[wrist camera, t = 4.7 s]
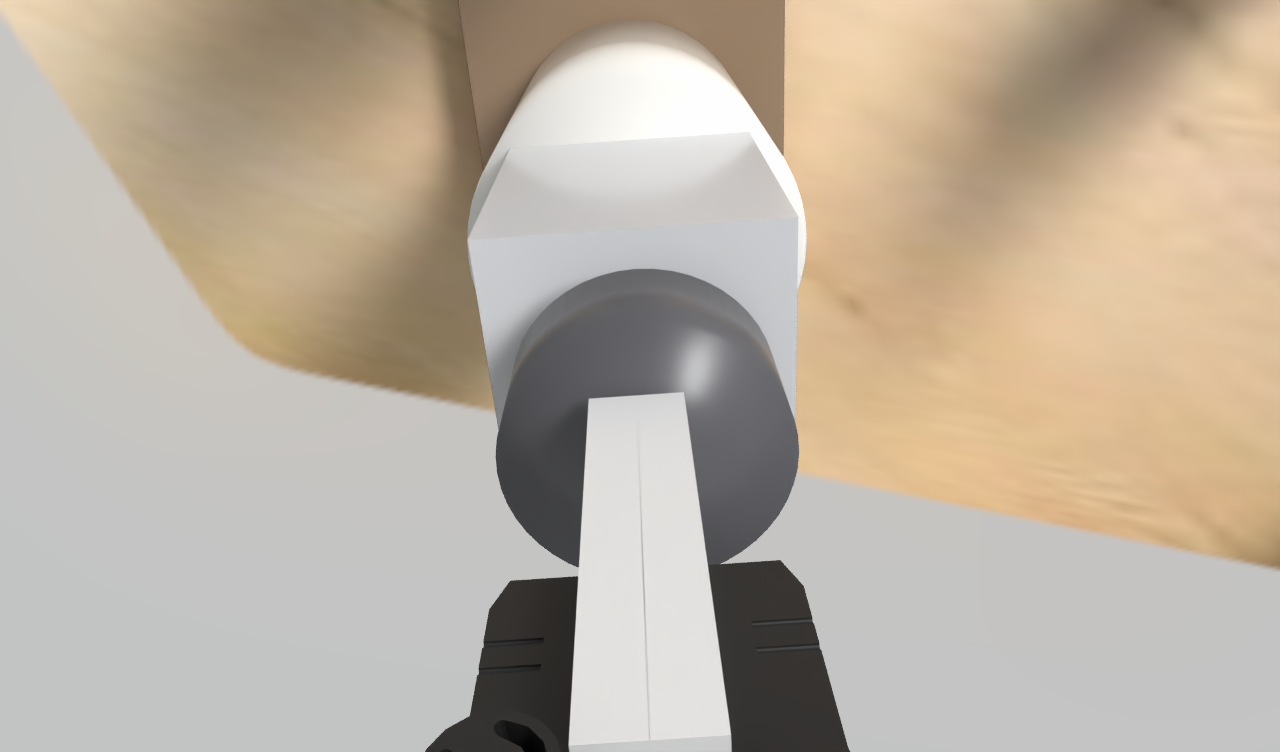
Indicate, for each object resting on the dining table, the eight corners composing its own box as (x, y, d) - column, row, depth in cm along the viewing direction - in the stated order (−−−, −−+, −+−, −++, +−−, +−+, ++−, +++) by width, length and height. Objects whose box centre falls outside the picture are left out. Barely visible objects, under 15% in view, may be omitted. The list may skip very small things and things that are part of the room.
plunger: (736, 343, 24) (796, 571, 16) (552, 356, 24) (516, 589, 16) (732, 160, 22) (801, 313, 14) (529, 174, 22) (474, 336, 14)
